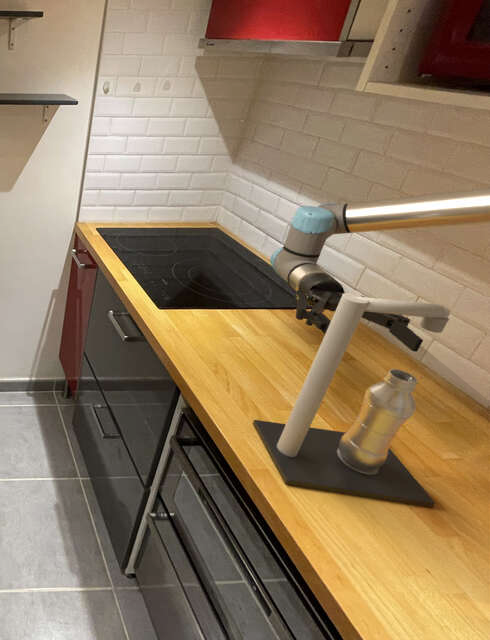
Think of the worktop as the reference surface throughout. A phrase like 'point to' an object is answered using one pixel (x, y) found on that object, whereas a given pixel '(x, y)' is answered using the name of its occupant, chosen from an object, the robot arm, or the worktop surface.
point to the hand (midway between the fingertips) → (377, 341)
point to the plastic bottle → (379, 420)
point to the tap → (323, 445)
